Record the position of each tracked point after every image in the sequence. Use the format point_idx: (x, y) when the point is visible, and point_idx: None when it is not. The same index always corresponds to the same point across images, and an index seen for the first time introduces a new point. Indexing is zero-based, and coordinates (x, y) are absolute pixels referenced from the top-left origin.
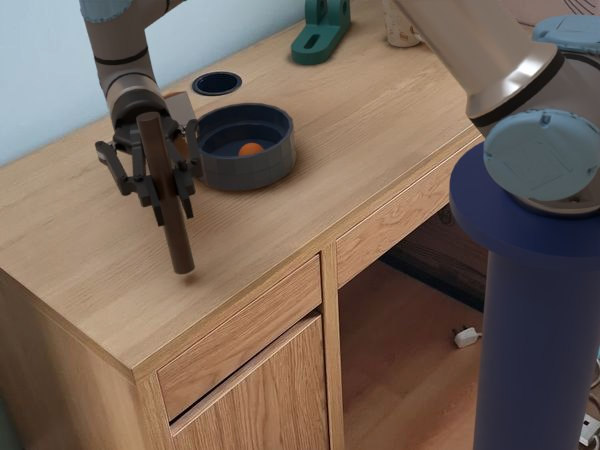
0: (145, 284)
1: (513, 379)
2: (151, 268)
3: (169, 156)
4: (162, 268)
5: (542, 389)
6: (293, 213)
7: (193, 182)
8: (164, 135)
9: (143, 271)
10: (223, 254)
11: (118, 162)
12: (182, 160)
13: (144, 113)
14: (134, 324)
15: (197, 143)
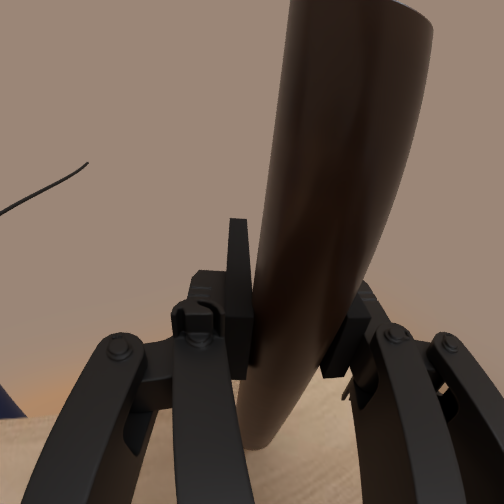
0: (323, 452)
1: (20, 417)
2: (311, 487)
3: (260, 235)
4: (291, 482)
5: (15, 403)
6: (19, 478)
7: (193, 276)
8: (275, 120)
9: (326, 483)
10: (168, 472)
11: (496, 427)
12: (193, 301)
13: (404, 6)
14: (335, 382)
15: (39, 457)
